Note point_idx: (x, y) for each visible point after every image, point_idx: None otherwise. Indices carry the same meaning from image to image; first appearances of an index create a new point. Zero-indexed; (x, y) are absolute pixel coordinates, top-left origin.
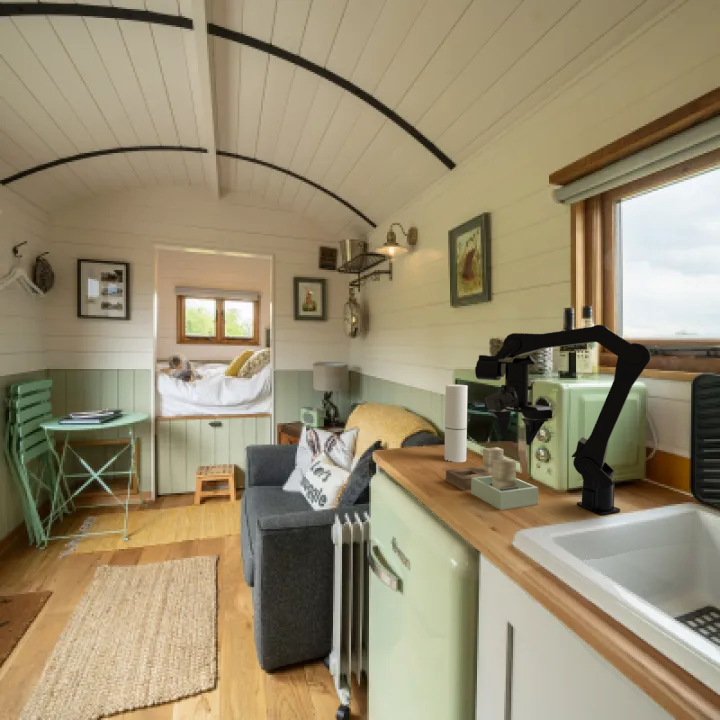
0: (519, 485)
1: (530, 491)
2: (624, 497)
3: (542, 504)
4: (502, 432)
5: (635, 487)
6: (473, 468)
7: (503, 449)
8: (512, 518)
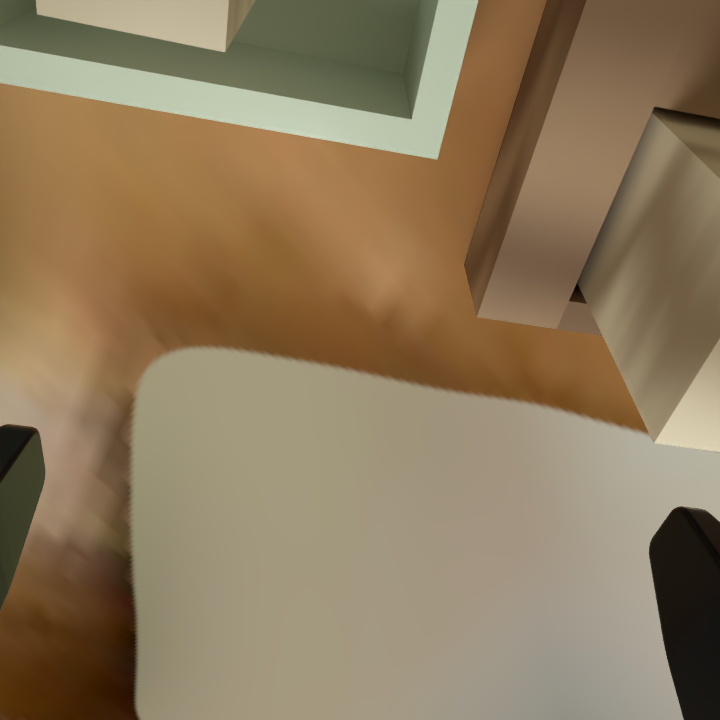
0: (202, 66)
1: None
2: None
3: None
4: (712, 585)
5: (108, 677)
6: None
7: (654, 442)
8: None
